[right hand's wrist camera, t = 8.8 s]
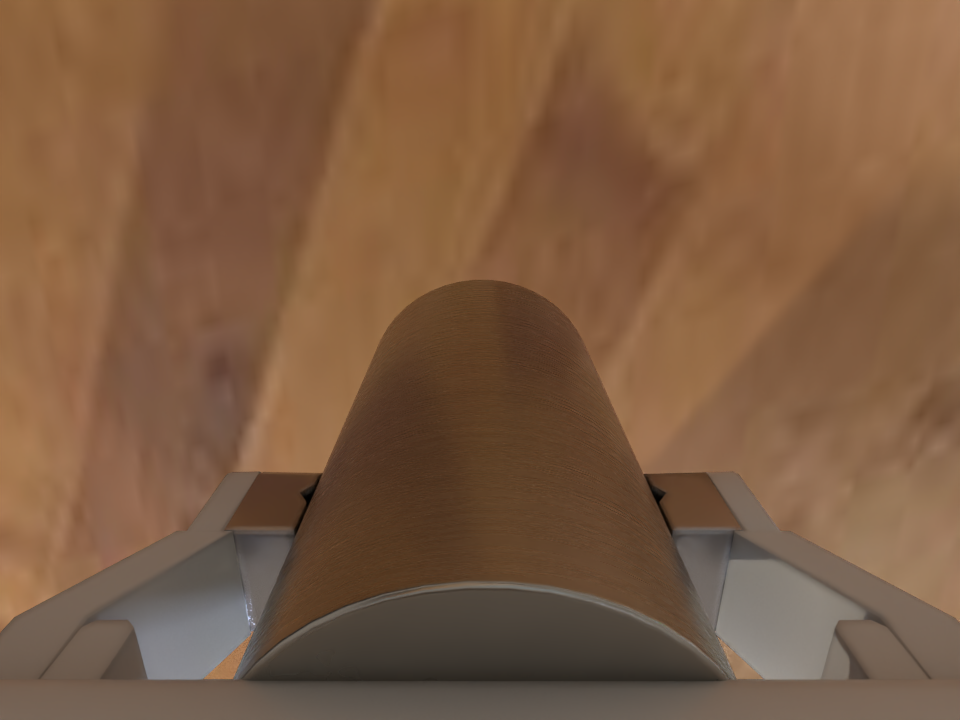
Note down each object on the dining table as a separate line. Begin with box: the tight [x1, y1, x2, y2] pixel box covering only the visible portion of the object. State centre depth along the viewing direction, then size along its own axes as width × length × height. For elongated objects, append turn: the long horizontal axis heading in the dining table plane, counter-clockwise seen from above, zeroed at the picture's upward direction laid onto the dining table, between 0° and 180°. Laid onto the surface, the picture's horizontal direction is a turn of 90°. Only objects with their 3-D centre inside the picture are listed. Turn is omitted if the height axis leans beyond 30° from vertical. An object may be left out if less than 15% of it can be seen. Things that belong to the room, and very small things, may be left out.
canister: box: [234, 280, 736, 681], centre depth 10 cm, size 5×5×10 cm
